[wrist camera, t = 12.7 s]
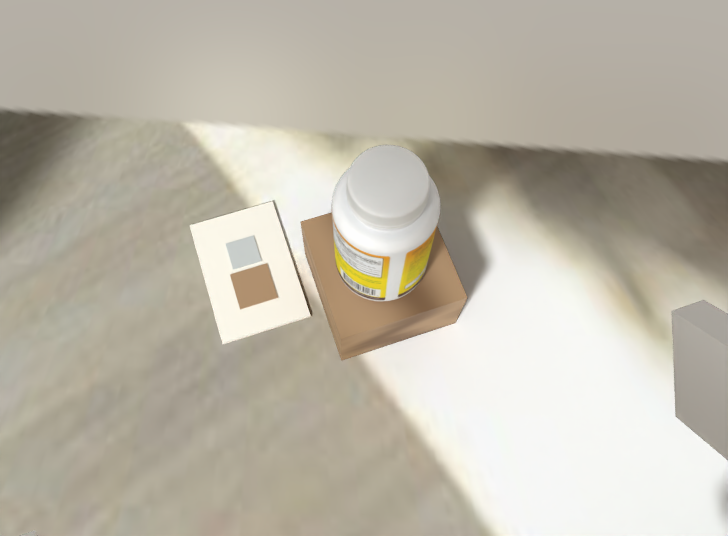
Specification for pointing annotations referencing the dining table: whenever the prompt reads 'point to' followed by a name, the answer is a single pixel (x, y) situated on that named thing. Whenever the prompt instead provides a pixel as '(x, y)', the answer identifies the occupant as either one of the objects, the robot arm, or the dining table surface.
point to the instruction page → (249, 272)
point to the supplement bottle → (384, 222)
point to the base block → (380, 318)
